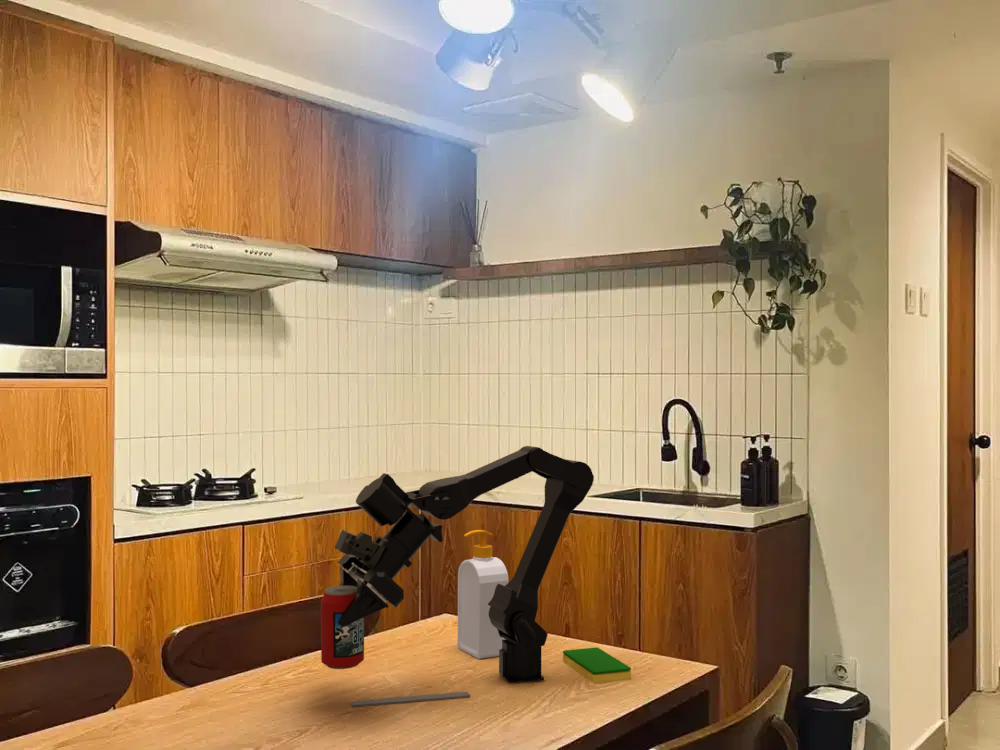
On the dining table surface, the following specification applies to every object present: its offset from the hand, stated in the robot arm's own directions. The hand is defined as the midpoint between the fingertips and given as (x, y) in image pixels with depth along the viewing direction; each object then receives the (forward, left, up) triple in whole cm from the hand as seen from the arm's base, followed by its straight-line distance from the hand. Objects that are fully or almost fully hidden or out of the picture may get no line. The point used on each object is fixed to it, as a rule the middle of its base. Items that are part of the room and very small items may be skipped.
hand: (334, 620), depth 153 cm
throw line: (-12, +1, -13) cm, 18 cm away
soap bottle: (-30, -23, -13) cm, 40 cm away
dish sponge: (-47, -7, -14) cm, 49 cm away
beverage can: (-1, 0, -7) cm, 8 cm away
